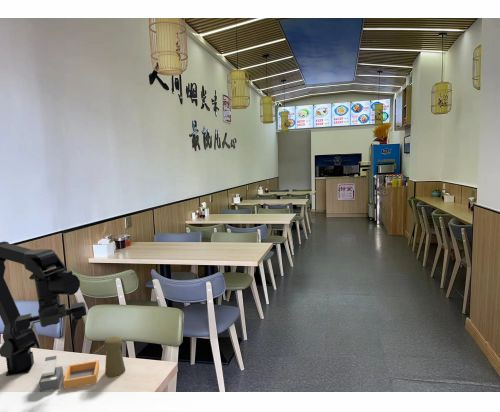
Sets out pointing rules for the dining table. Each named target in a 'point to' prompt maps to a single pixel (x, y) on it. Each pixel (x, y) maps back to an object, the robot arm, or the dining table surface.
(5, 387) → the dining table surface
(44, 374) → the breaker rocker
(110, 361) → the olive vase
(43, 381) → the breaker box
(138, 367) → the dining table surface
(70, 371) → the orange square tray
